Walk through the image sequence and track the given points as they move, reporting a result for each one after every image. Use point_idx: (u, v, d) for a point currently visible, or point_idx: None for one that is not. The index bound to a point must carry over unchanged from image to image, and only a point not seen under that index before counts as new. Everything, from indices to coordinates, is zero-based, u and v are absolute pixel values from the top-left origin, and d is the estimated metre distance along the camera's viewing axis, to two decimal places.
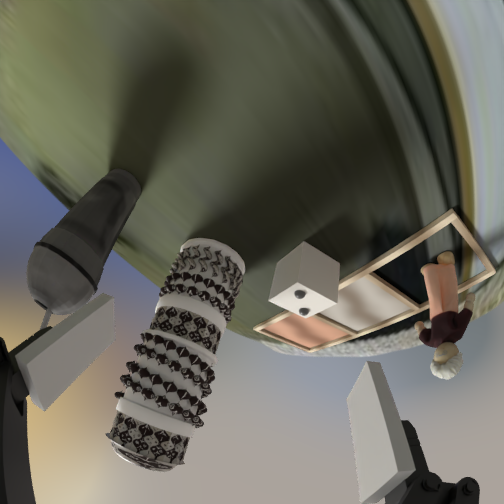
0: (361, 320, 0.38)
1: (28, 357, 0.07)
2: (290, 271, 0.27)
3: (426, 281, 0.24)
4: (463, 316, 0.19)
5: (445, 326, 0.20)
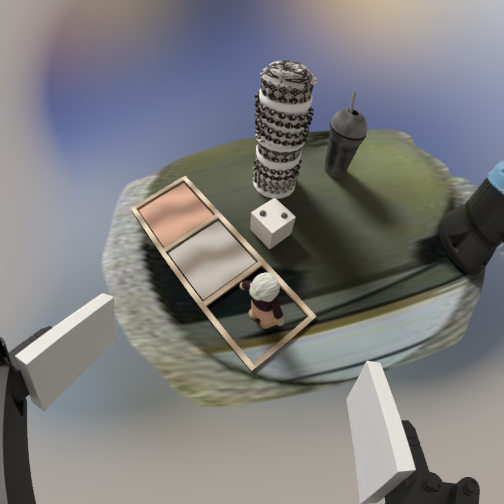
0: (188, 257, 0.46)
1: (28, 357, 0.07)
2: None
3: None
4: (280, 309, 0.34)
5: None
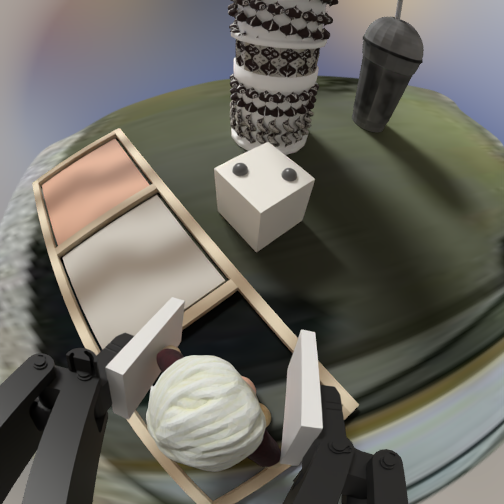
0: (91, 267, 0.20)
1: (121, 367, 0.09)
2: None
3: (243, 377, 0.15)
4: (274, 443, 0.09)
5: None
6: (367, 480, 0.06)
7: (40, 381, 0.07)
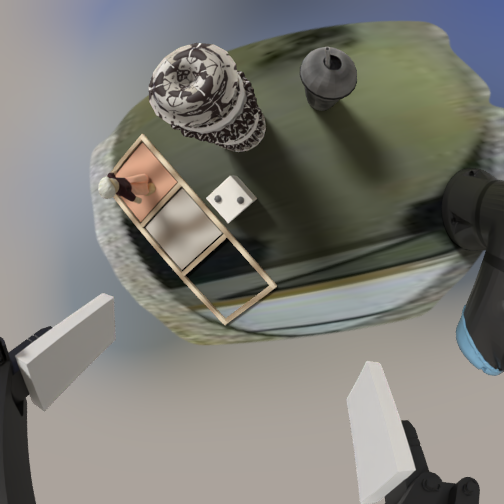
0: (162, 230, 0.49)
1: (28, 357, 0.07)
2: (247, 192, 0.42)
3: (140, 174, 0.44)
4: (132, 194, 0.40)
5: (125, 184, 0.39)
6: None
7: None
